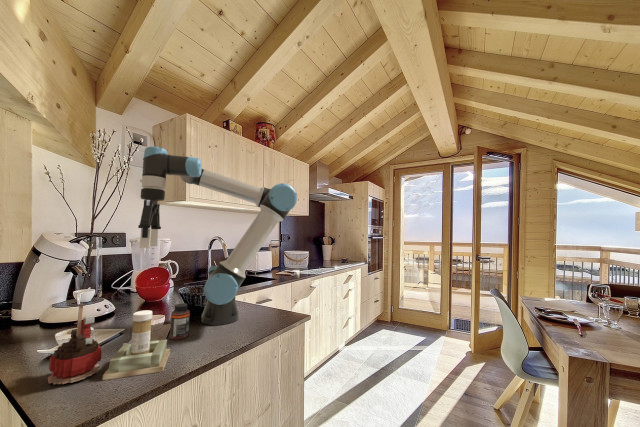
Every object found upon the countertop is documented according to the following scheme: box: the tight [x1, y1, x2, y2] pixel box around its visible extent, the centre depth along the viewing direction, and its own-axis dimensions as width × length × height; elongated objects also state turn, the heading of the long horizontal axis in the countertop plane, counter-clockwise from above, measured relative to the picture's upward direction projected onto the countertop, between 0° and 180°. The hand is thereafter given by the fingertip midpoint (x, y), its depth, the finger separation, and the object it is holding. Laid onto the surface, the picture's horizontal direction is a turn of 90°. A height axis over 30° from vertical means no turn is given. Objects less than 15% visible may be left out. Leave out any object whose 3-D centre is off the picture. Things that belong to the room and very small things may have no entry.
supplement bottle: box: [169, 302, 191, 341], centre depth 94 cm, size 6×6×11 cm
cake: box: [47, 303, 103, 385], centre depth 67 cm, size 11×9×18 cm
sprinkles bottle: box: [130, 309, 153, 355], centre depth 72 cm, size 5×5×14 cm
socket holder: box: [102, 339, 171, 381], centre depth 73 cm, size 13×12×4 cm
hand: (149, 247), depth 95 cm, fingers open, 13 cm apart
